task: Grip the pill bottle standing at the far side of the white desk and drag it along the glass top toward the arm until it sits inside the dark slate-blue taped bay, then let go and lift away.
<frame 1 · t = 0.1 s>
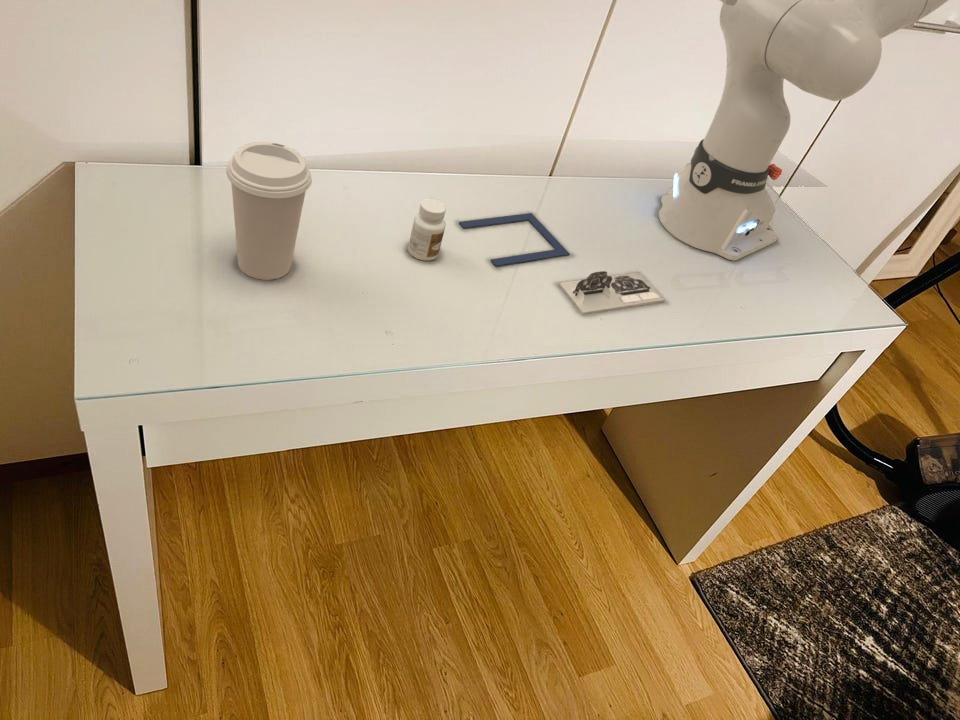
car cutout: (611, 294, 110), on the table
coffee cup: (264, 265, 97), on the table
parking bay: (510, 239, 114), on the table
pill bottle: (422, 253, 107), on the table
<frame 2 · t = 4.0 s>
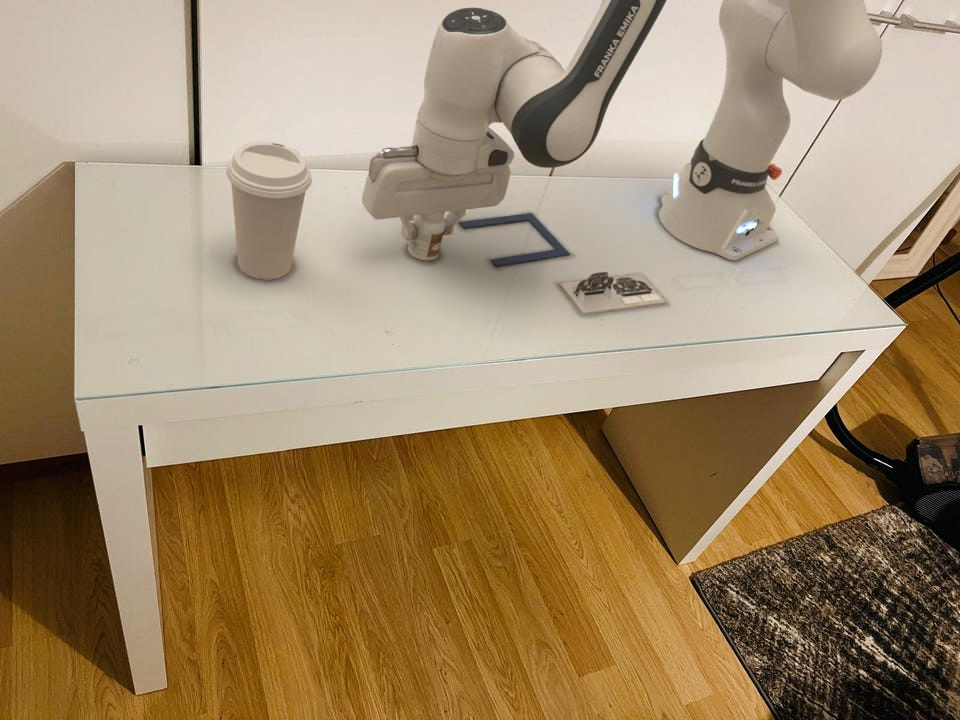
hand: (427, 235, 105), 3 cm above the table, tool pointing down, fingers closed on pill bottle, 4 cm apart
pill bottle: (422, 253, 107), on the table, touching gripper
everything else where it was.
when the fingers open (3 cm above the table, at t = 9.1 s): pill bottle stays where it is, on the table.
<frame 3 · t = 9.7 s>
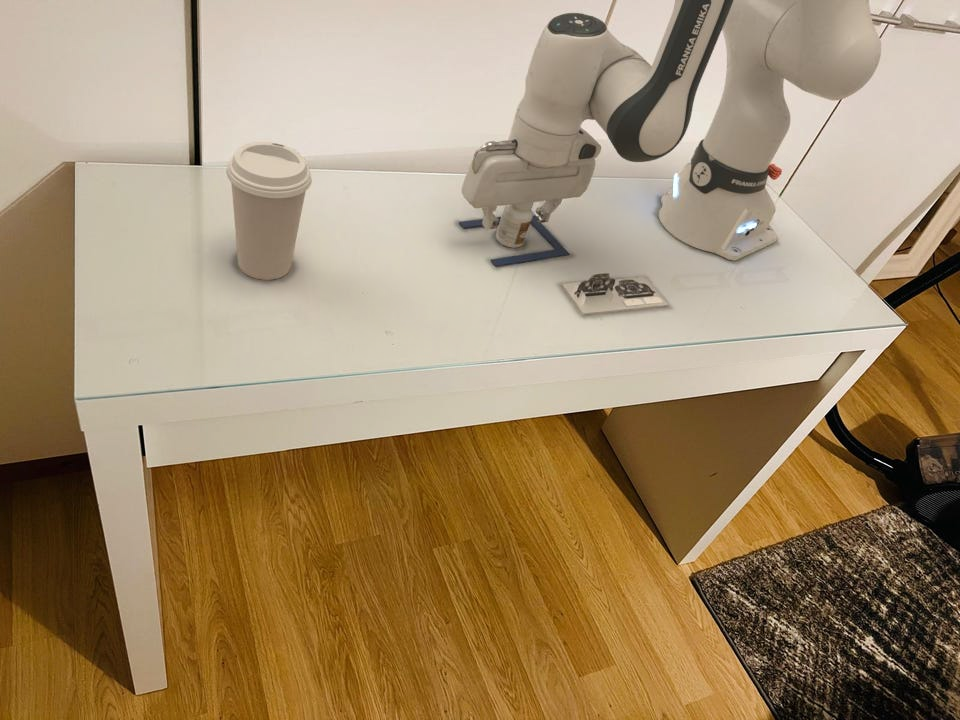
hand: (515, 223, 112), 3 cm above the table, tool pointing down, fingers open, 8 cm apart
pill bottle: (509, 241, 114), on the table
everything else where it was.
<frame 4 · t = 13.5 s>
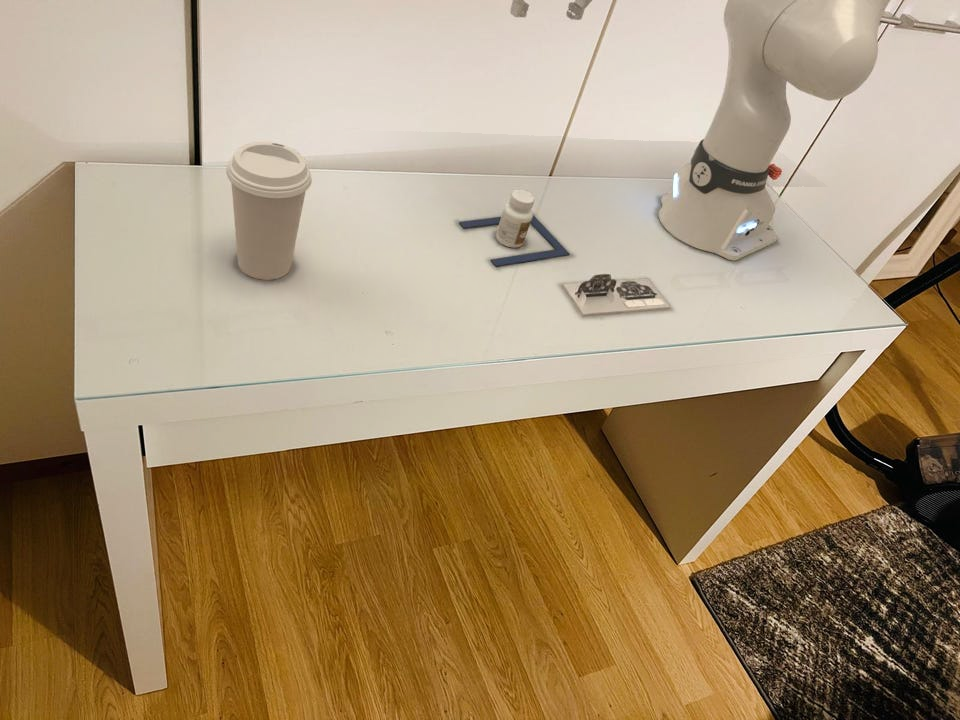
hand: (546, 17, 102), 29 cm above the table, tool pointing down, fingers open, 8 cm apart
nothing on the table moved.
at the end: pill bottle inside the target area (0.1 cm from its centre), on the table; pill bottle tilted 0°; the gripper is holding nothing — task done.
